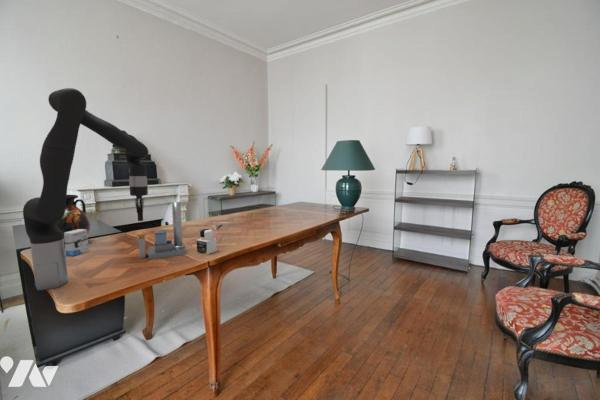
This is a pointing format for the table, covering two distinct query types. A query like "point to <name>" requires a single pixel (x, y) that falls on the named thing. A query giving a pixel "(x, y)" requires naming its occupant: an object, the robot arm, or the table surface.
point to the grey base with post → (168, 248)
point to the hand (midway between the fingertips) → (140, 220)
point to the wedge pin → (141, 236)
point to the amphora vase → (73, 216)
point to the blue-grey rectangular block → (160, 237)
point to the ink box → (76, 242)
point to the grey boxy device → (206, 242)
